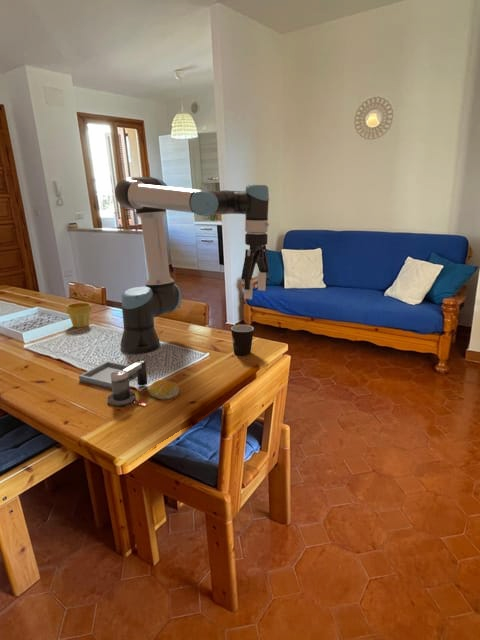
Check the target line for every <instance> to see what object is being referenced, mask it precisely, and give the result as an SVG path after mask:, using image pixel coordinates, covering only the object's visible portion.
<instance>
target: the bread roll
mask: <svg viewBox="0 0 480 640" xmlns="http://www.w3.org/2000/svg"><path fill="white" fill-rule="evenodd" d="M179 393H180V386H179V385H178V384H177V383H176V382H173V381H168V380H166V379H158V380H156V381H154V382H153V383H151V385H150V387H149V394H150V396H151V397H153V398H156V399H158V400H170V399H173V398H174V397H177V396H178V394H179Z"/></svg>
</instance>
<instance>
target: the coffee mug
mask: <svg viewBox="0 0 480 640" xmlns="http://www.w3.org/2000/svg"><path fill="white" fill-rule="evenodd" d="M230 330H231V339H232V346H233V354H234V355H235V356H239V357H240V356H241V357H245V356H250V355H251V352H252V344H253V338H254V330H255V328H254V326H252V325H247V324H238V325H237V324H236V325H234V326H232V327H231V328H230Z"/></svg>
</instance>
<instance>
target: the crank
mask: <svg viewBox="0 0 480 640" xmlns="http://www.w3.org/2000/svg"><path fill="white" fill-rule="evenodd" d="M135 371H137V375H136V378H137V379H136V380H137V382H136V383H137V385H138V386H145V385H147V384H148V376H147V372H148V371H147V362H146V359H137V360H136V361H135V362H134V363H132V364H130V366H129V367H127V368H125V369H123V370H118V371H115V372H113V373H111V380H112V381H113V382H123V381H126V380H128V379H129V375H130V374H132V373H134V372H135ZM129 380H130V379H129Z"/></svg>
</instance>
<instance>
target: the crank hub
mask: <svg viewBox="0 0 480 640" xmlns="http://www.w3.org/2000/svg"><path fill="white" fill-rule="evenodd" d="M111 383H112V389H111V390H112V393H111V394H109V395H108V396H107V404H108V405H110V406H113V407H119V408H120V407H124V406H125V407H126V406H130V405H131V404H133V405H137V406H141V407H146V406H147V403H144V402H139V401H136V400H137V399H136V397H137V396H136V393H135V392H134V391H131V387H130V379H128V380H126V381H123V382H113V381H112V380H111Z"/></svg>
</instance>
